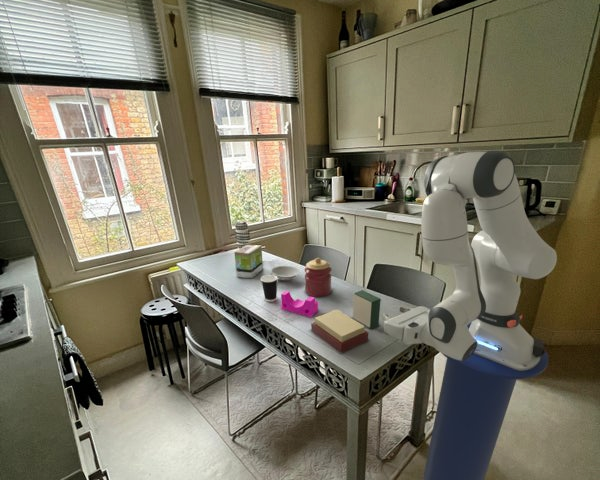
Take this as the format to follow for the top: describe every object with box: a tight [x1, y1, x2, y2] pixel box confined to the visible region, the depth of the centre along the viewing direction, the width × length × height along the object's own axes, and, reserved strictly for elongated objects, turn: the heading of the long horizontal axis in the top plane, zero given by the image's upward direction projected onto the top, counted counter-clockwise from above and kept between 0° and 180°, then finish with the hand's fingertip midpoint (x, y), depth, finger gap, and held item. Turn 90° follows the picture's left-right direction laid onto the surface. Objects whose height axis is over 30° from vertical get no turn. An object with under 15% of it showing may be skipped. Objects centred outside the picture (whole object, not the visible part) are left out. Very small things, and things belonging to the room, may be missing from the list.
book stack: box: [310, 309, 369, 354], centre depth 119 cm, size 18×13×6 cm
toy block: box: [280, 290, 319, 318], centre depth 139 cm, size 15×6×8 cm, turn 59°
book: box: [352, 289, 382, 330], centre depth 126 cm, size 10×5×12 cm, turn 34°
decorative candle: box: [234, 220, 251, 250], centre depth 197 cm, size 9×9×25 cm
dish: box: [270, 265, 301, 281], centre depth 171 cm, size 18×14×5 cm
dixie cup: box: [260, 274, 279, 303], centre depth 148 cm, size 8×8×11 cm
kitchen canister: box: [304, 257, 332, 298], centre depth 153 cm, size 13×13×18 cm
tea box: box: [234, 244, 264, 279], centre depth 179 cm, size 15×10×15 cm, turn 162°
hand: (392, 312), depth 114 cm, fingers open, 8 cm apart
